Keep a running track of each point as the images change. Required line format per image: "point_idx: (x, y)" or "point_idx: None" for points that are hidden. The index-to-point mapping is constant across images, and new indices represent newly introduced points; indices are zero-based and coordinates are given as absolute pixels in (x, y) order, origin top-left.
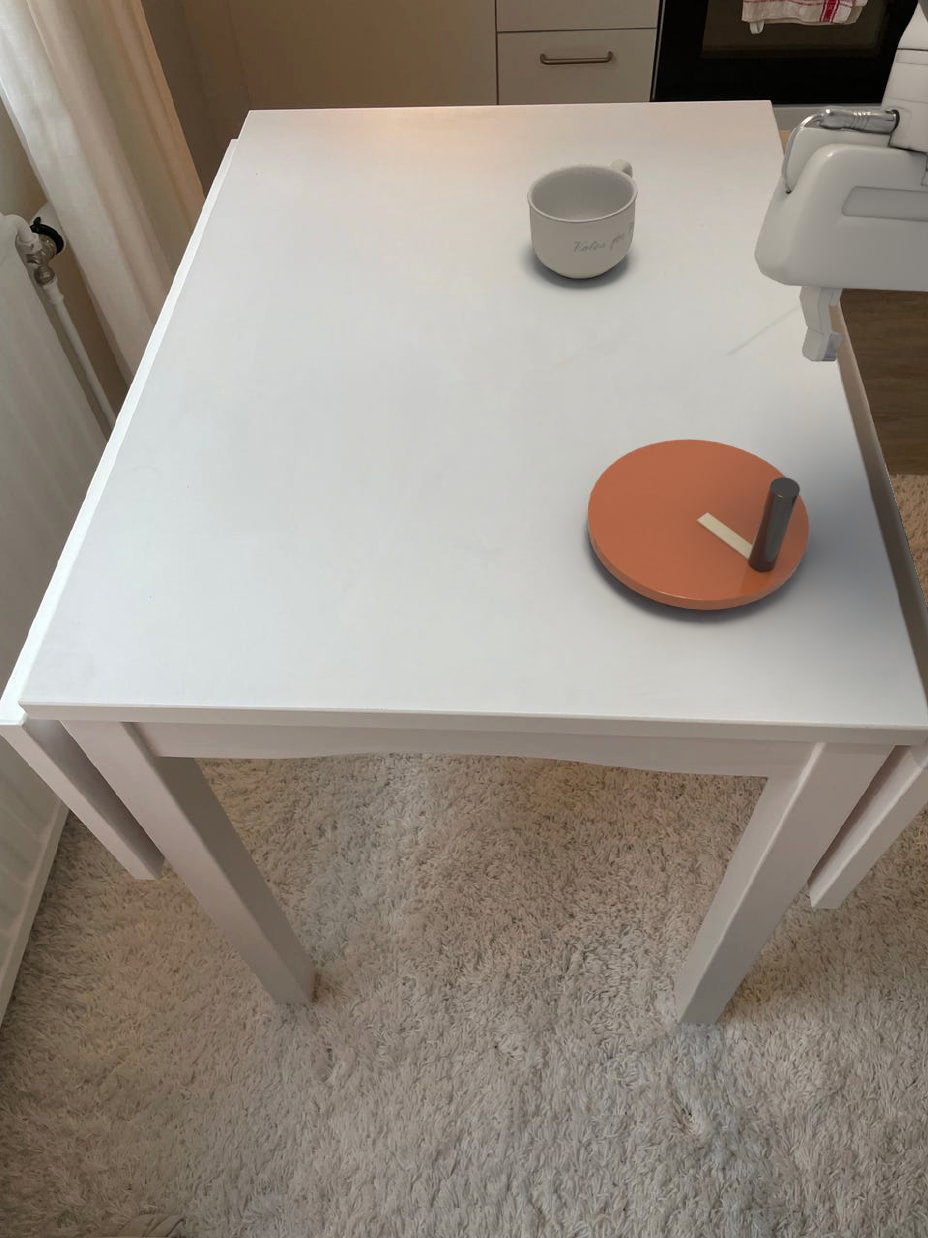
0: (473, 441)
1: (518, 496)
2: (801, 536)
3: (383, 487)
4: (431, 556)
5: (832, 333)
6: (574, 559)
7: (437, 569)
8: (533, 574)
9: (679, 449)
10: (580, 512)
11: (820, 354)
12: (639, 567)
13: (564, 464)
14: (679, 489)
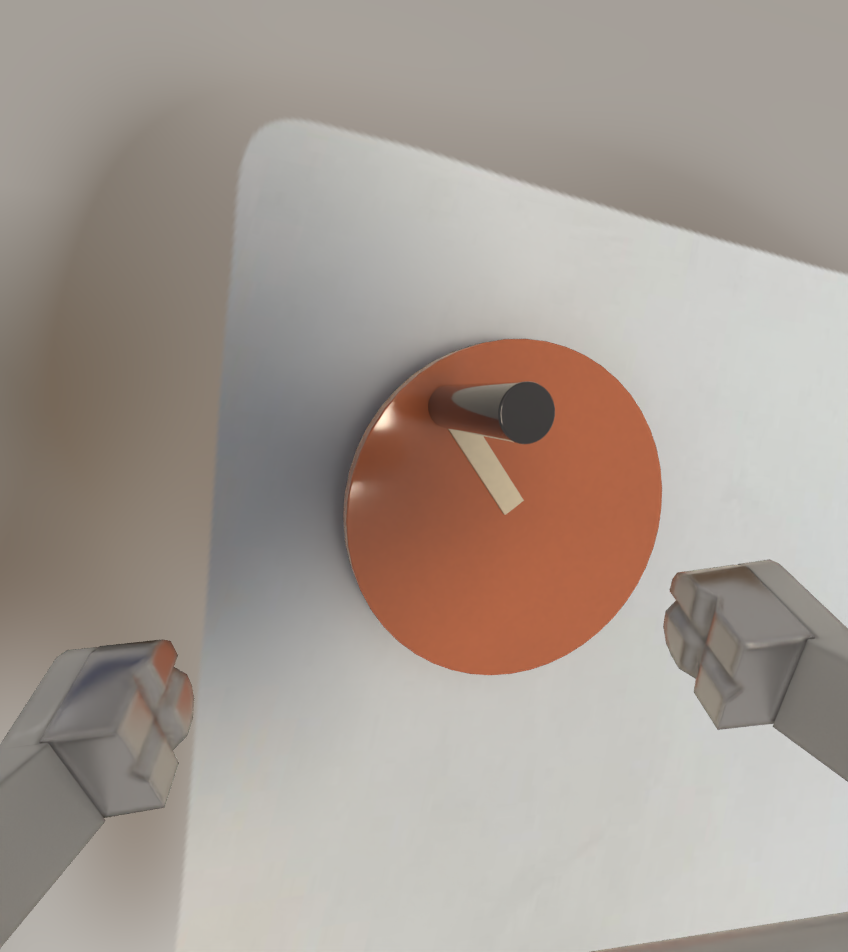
0: None
1: None
2: (371, 455)
3: None
4: (792, 493)
5: (813, 641)
6: None
7: (789, 472)
8: (695, 454)
9: (511, 652)
10: None
11: (775, 572)
12: (618, 415)
13: (625, 646)
14: (530, 567)
